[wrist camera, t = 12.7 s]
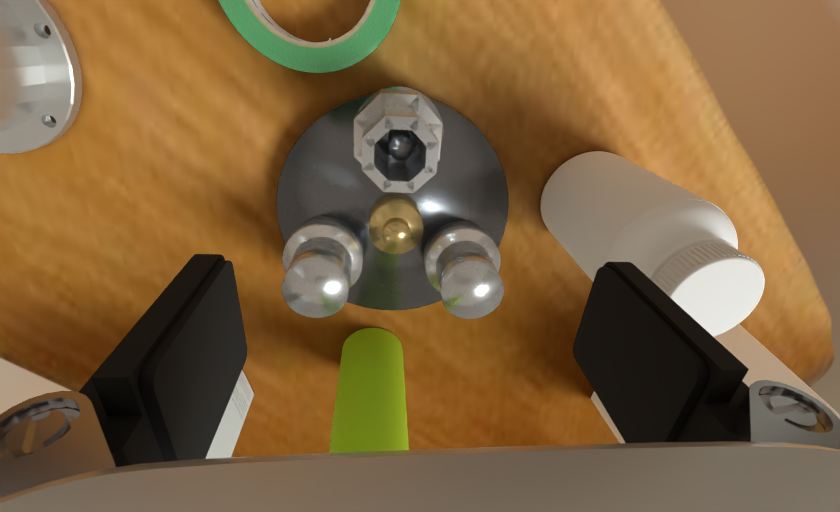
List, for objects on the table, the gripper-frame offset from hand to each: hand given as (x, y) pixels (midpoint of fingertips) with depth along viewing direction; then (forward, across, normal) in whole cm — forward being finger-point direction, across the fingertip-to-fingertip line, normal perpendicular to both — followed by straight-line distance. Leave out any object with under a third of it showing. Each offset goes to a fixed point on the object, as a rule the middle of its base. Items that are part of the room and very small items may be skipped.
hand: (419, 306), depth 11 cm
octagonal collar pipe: (+21, 0, 0) cm, 21 cm away
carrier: (+22, 0, +6) cm, 23 cm away
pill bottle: (+22, -16, +5) cm, 28 cm away
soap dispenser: (+22, +2, +21) cm, 31 cm away
